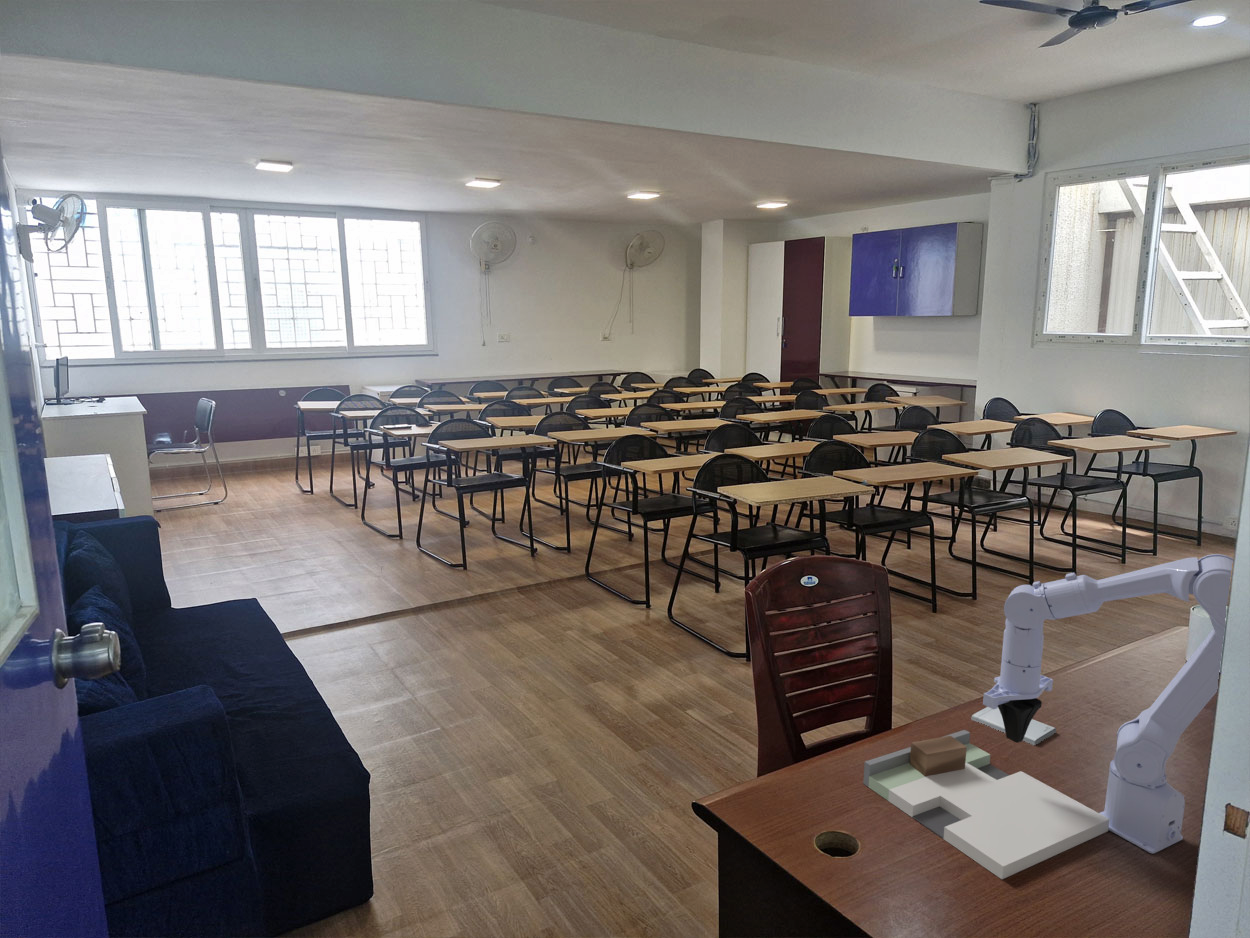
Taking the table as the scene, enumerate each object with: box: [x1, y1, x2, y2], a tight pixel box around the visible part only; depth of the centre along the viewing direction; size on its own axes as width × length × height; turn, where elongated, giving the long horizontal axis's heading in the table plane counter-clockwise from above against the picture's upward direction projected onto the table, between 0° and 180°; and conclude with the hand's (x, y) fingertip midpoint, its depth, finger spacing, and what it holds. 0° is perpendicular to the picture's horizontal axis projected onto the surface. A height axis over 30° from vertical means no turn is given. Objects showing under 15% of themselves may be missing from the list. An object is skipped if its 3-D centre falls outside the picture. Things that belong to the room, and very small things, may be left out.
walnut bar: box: [910, 735, 967, 777], centre depth 135 cm, size 4×8×4 cm, turn 108°
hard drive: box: [970, 706, 1057, 746], centre depth 154 cm, size 2×8×12 cm
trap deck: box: [862, 729, 1110, 880], centre depth 127 cm, size 27×24×4 cm
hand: (1014, 739), depth 130 cm, fingers closed
